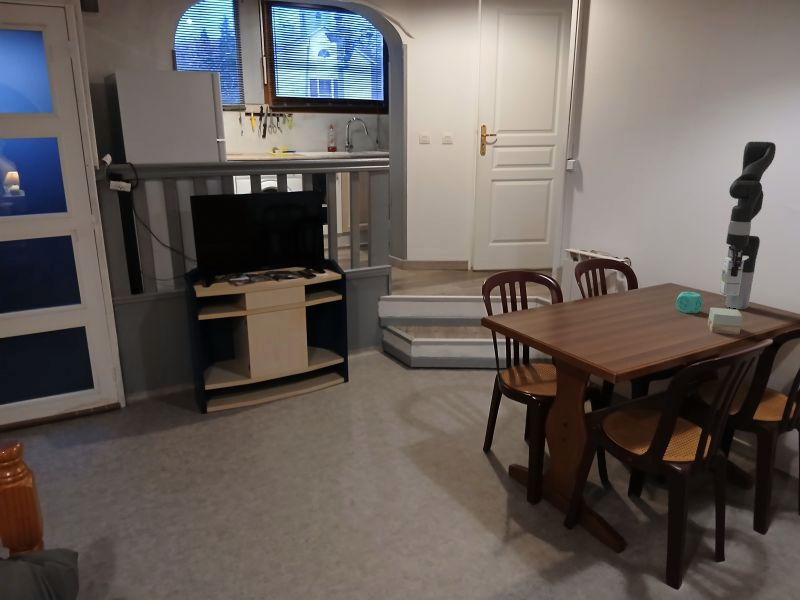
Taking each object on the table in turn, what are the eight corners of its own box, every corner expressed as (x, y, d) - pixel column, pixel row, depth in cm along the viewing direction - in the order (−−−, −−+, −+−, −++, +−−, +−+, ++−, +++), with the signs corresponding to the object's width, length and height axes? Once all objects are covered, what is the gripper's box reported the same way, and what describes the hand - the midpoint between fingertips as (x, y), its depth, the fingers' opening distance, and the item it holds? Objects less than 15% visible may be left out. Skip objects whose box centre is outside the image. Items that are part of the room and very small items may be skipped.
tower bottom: (707, 325, 244) (708, 316, 243) (734, 328, 241) (735, 318, 240) (711, 333, 235) (713, 323, 234) (739, 335, 232) (741, 326, 231)
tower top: (708, 316, 243) (710, 307, 242) (735, 319, 240) (737, 309, 239) (712, 323, 234) (714, 314, 233) (740, 326, 231) (742, 316, 230)
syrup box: (739, 296, 231) (745, 260, 227) (723, 295, 232) (728, 259, 228) (734, 292, 236) (740, 257, 232) (718, 291, 237) (724, 256, 233)
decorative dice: (701, 311, 262) (704, 294, 260) (691, 314, 258) (694, 297, 256) (684, 307, 268) (686, 290, 266) (674, 310, 264) (677, 293, 262)
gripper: (754, 236, 220) (746, 279, 224) (745, 230, 233) (738, 271, 237) (731, 235, 222) (724, 277, 226) (724, 229, 235) (718, 269, 240)
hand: (732, 274), depth 232 cm, fingers closed on syrup box, 6 cm apart
